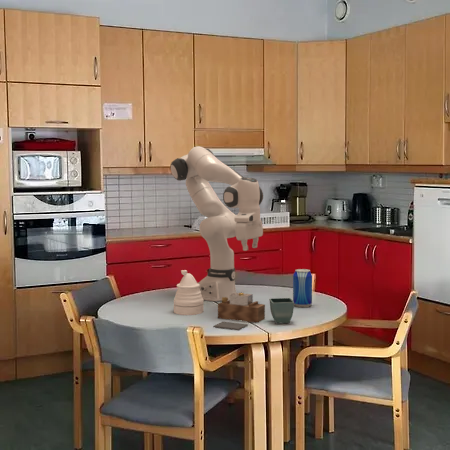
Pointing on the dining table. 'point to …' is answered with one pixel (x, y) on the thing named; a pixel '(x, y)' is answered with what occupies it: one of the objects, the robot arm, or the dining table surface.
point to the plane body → (241, 311)
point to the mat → (230, 325)
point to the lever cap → (241, 299)
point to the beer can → (302, 288)
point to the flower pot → (281, 309)
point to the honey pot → (188, 296)
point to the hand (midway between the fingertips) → (250, 249)
